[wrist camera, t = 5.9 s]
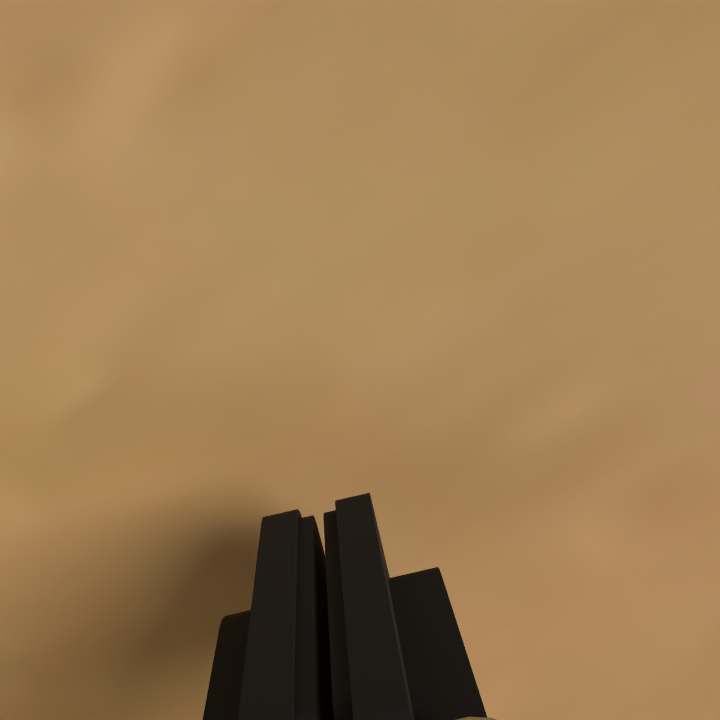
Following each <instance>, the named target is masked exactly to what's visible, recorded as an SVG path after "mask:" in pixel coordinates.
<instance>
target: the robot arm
mask: <svg viewBox="0 0 720 720" xmlns="http://www.w3.org/2000/svg"><path fill="white" fill-rule="evenodd" d="M335 506H336V510H335V511H331V512H326V513H324V535H325V554H324V550H323V546H322V542H321V539H320V535H319V531H318V528H317V524H316V521H315V518H314V516H309V517H304V518H302V517H301V514H300V511H299V510H298V509H297V510H292V511H288V512H284V513H279V514H275V515H271V516H266V517H263V518H262V523H261V532H260V540H259V548H258V556H257V565H256V573H255V581H254V589H253V598H252V606H251V610H249V611H245V612H241V613H236V614H232V615H228V616H225V617H224V618H223V619H222V621H221V625H220V628H219V634H218V639H217V645H216V650H215V656H214V661H213V667H212V672H211V678H210V683H209V689H208V694H207V700H206V705H205V710H204V716H203V720H496V719H493V718H487V715H486V712H485V709H484V706H483V703H482V700H481V697H480V693H479V690H478V687H477V684H476V681H475V678H474V675H473V672H472V669H471V665H470V662H469V659H468V656H467V653H466V650H465V647H464V644H463V641H462V637H461V634H460V631H459V628H458V625H457V622H456V619H455V616H454V613H453V609H452V606H451V603H450V600H449V597H448V594H447V591H446V588H445V585H444V581H443V578H442V575H441V572H440V570H439V568H438V567H436V568H432V569H428V570H423V571H419V572H415V573H410V574H406V575H402V576H397V577H393V578H390V577H389V573H388V569H387V565H386V560H385V556H384V552H383V547H382V543H381V539H380V535H379V530H378V526H377V522H376V518H375V513H374V509H373V505H372V500H371V496H370V493H367V494H362V495H358V496H354V497H349V498H345V499H341V500H336V501H335ZM325 556H326V557H325Z"/></svg>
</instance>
